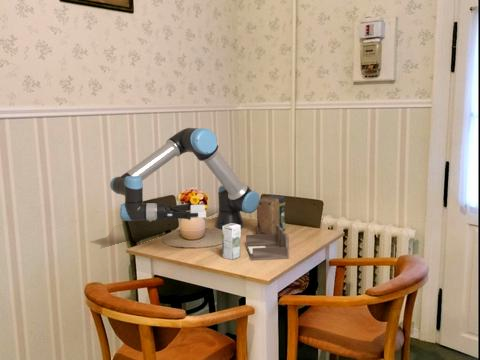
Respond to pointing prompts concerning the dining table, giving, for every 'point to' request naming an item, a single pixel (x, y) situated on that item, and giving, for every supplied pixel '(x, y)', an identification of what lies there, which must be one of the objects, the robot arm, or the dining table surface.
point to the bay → (268, 245)
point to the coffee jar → (281, 209)
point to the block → (268, 215)
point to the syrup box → (231, 241)
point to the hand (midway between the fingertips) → (205, 210)
